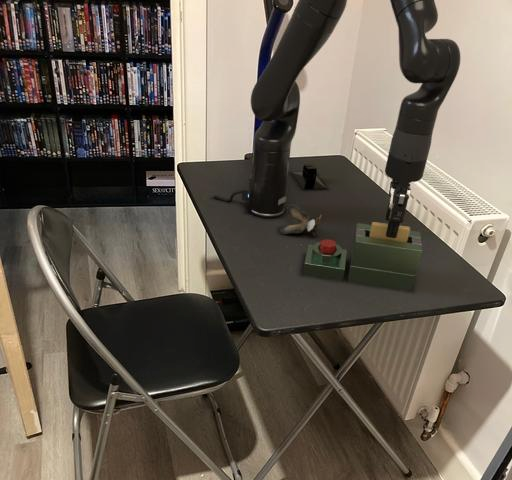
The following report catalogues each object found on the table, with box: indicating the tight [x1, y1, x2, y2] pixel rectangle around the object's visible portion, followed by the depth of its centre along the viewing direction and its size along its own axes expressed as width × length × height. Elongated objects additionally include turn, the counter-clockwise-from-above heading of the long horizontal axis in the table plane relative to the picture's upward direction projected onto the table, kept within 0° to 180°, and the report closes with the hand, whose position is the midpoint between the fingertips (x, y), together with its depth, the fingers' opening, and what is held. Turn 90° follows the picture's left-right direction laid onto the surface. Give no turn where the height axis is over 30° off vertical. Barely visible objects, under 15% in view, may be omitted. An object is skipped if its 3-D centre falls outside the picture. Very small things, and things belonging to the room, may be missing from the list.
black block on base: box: [291, 163, 327, 191], centre depth 168 cm, size 12×7×5 cm, turn 14°
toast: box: [369, 221, 411, 243], centre depth 124 cm, size 8×2×8 cm, turn 81°
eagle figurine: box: [279, 203, 323, 238], centre depth 141 cm, size 8×7×9 cm
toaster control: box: [302, 241, 348, 282], centre depth 129 cm, size 9×9×5 cm
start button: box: [319, 238, 337, 253], centre depth 127 cm, size 4×4×2 cm
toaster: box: [347, 222, 423, 292], centre depth 126 cm, size 14×9×10 cm, turn 80°
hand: (390, 228), depth 122 cm, fingers open, 7 cm apart
